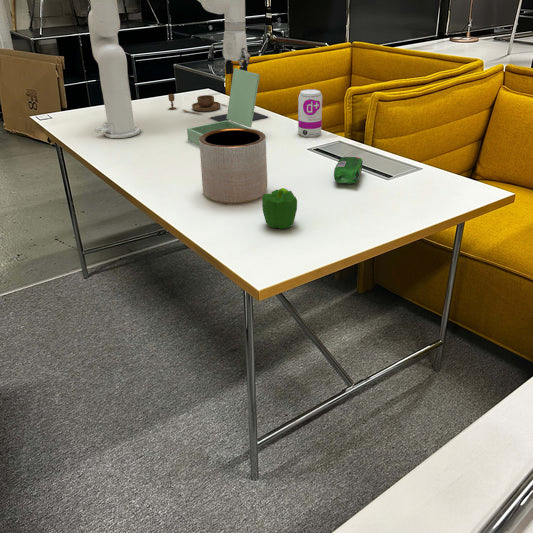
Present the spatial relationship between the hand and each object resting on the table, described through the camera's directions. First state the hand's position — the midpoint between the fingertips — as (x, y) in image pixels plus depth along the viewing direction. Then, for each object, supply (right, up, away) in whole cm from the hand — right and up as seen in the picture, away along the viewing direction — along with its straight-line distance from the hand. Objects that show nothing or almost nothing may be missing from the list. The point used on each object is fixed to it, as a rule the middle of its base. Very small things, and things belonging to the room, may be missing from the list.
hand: (236, 75), depth 212 cm
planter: (+3, -53, -59) cm, 79 cm away
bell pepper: (+15, -63, -77) cm, 101 cm away
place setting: (-17, -6, +24) cm, 30 cm away
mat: (+1, -14, +8) cm, 16 cm away
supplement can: (+27, -26, -13) cm, 39 cm away
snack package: (+35, -48, -52) cm, 79 cm away
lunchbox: (-5, -30, -19) cm, 35 cm away
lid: (+3, -15, -21) cm, 25 cm away
